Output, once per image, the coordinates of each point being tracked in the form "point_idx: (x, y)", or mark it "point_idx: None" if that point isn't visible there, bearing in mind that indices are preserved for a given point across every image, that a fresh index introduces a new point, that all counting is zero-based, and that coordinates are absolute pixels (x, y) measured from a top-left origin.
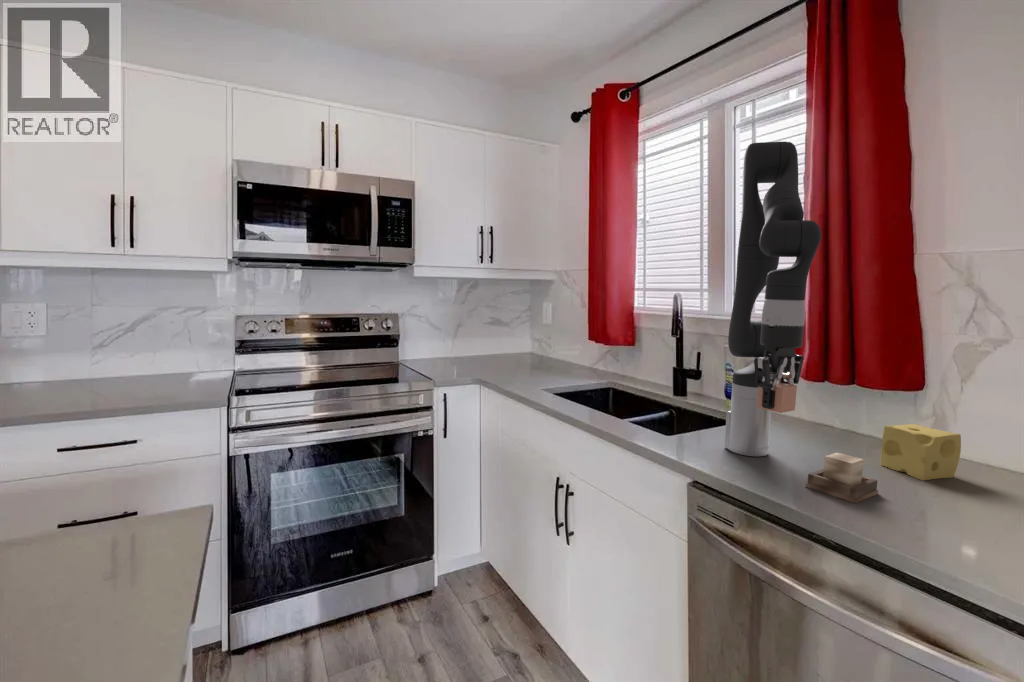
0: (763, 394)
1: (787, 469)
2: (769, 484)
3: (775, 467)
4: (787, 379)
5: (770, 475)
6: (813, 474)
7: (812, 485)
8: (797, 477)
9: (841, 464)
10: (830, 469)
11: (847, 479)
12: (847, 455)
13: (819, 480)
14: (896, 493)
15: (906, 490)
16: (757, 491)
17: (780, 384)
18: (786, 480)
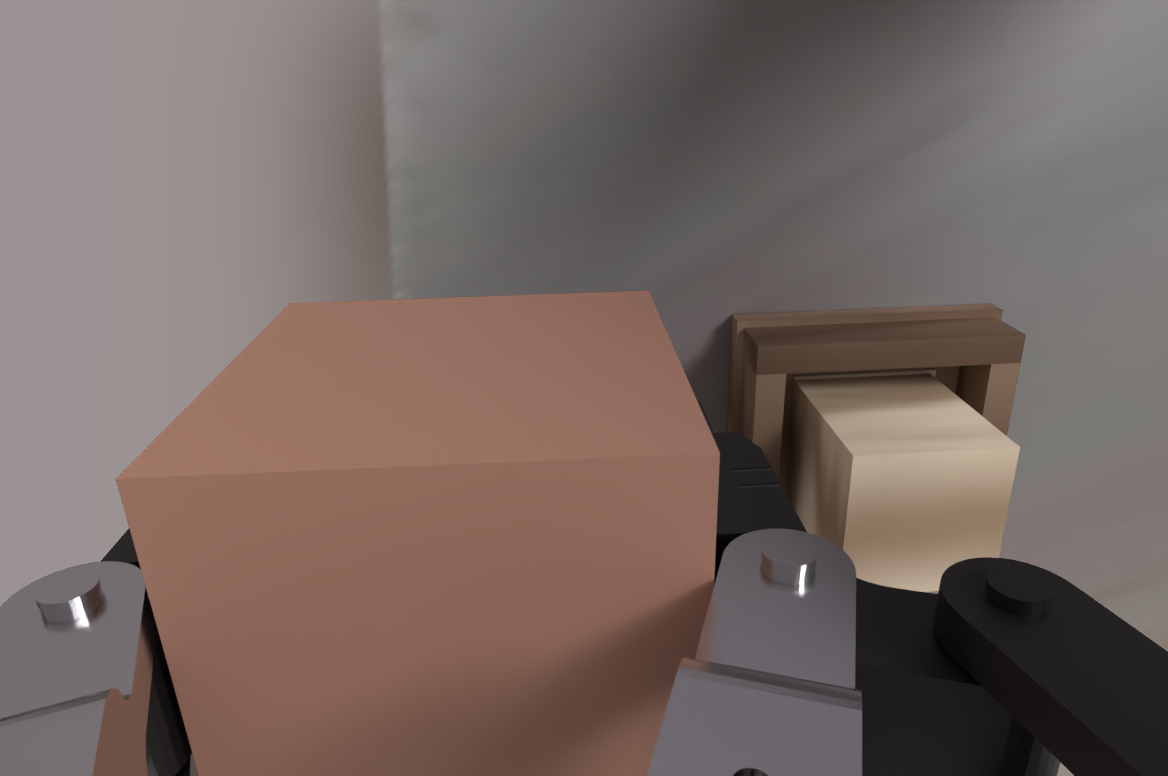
0: (119, 558)
1: (959, 78)
2: (577, 191)
3: (933, 7)
4: (874, 713)
5: (738, 93)
6: (774, 366)
7: (734, 358)
8: (854, 202)
9: (834, 534)
10: (822, 456)
11: (806, 524)
12: (1000, 509)
13: (750, 401)
14: (1033, 559)
15: (1120, 561)
16: (405, 226)
17: (504, 718)
18: (740, 201)
